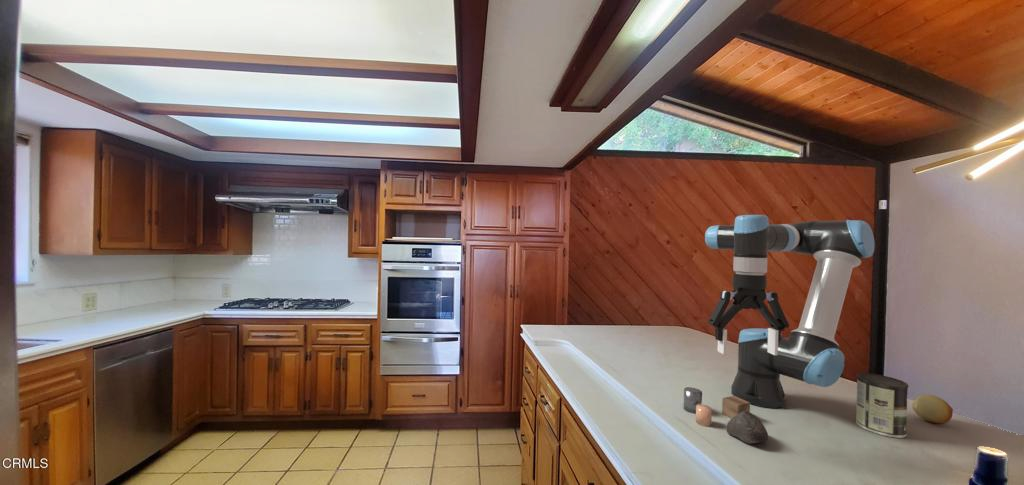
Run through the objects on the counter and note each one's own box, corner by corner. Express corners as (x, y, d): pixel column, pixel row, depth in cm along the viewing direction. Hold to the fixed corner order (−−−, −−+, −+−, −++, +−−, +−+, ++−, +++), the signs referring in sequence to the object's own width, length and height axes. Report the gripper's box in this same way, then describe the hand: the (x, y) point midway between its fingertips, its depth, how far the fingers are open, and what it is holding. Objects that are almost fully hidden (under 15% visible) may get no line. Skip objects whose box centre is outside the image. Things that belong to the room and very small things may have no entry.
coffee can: (891, 423, 106) (893, 375, 106) (916, 441, 97) (918, 389, 97) (847, 416, 110) (849, 370, 110) (867, 433, 100) (869, 382, 100)
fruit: (920, 414, 113) (921, 388, 113) (959, 427, 105) (960, 400, 105) (904, 416, 111) (905, 390, 111) (943, 430, 103) (944, 402, 103)
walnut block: (733, 411, 112) (734, 395, 112) (749, 419, 107) (750, 402, 107) (722, 414, 110) (722, 397, 110) (737, 422, 105) (738, 405, 105)
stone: (733, 440, 102) (713, 419, 100) (755, 420, 102) (736, 398, 100) (761, 467, 93) (740, 444, 90) (786, 444, 92) (765, 421, 90)
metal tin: (695, 406, 115) (696, 387, 115) (704, 413, 110) (705, 394, 110) (680, 405, 114) (681, 387, 114) (688, 413, 109) (689, 394, 109)
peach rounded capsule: (706, 419, 106) (706, 404, 106) (714, 426, 102) (714, 410, 102) (693, 419, 106) (693, 404, 106) (700, 426, 102) (700, 410, 102)
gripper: (785, 273, 100) (782, 349, 100) (695, 271, 99) (693, 348, 100) (807, 275, 92) (805, 358, 93) (710, 273, 92) (708, 357, 92)
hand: (747, 353), depth 96 cm, fingers open, 13 cm apart
